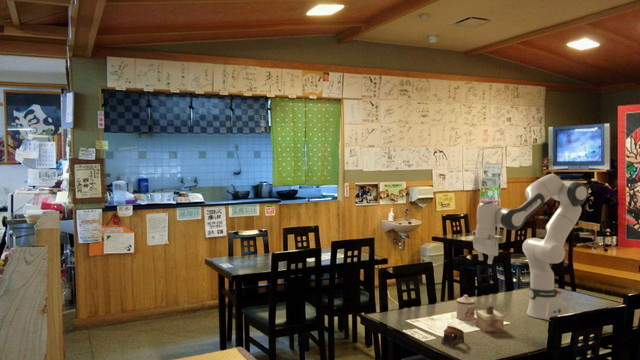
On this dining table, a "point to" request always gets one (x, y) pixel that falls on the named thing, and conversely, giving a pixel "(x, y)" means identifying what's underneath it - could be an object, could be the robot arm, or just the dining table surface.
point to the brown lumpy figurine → (451, 339)
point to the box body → (490, 325)
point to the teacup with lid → (465, 308)
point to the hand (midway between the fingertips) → (485, 261)
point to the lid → (489, 314)
